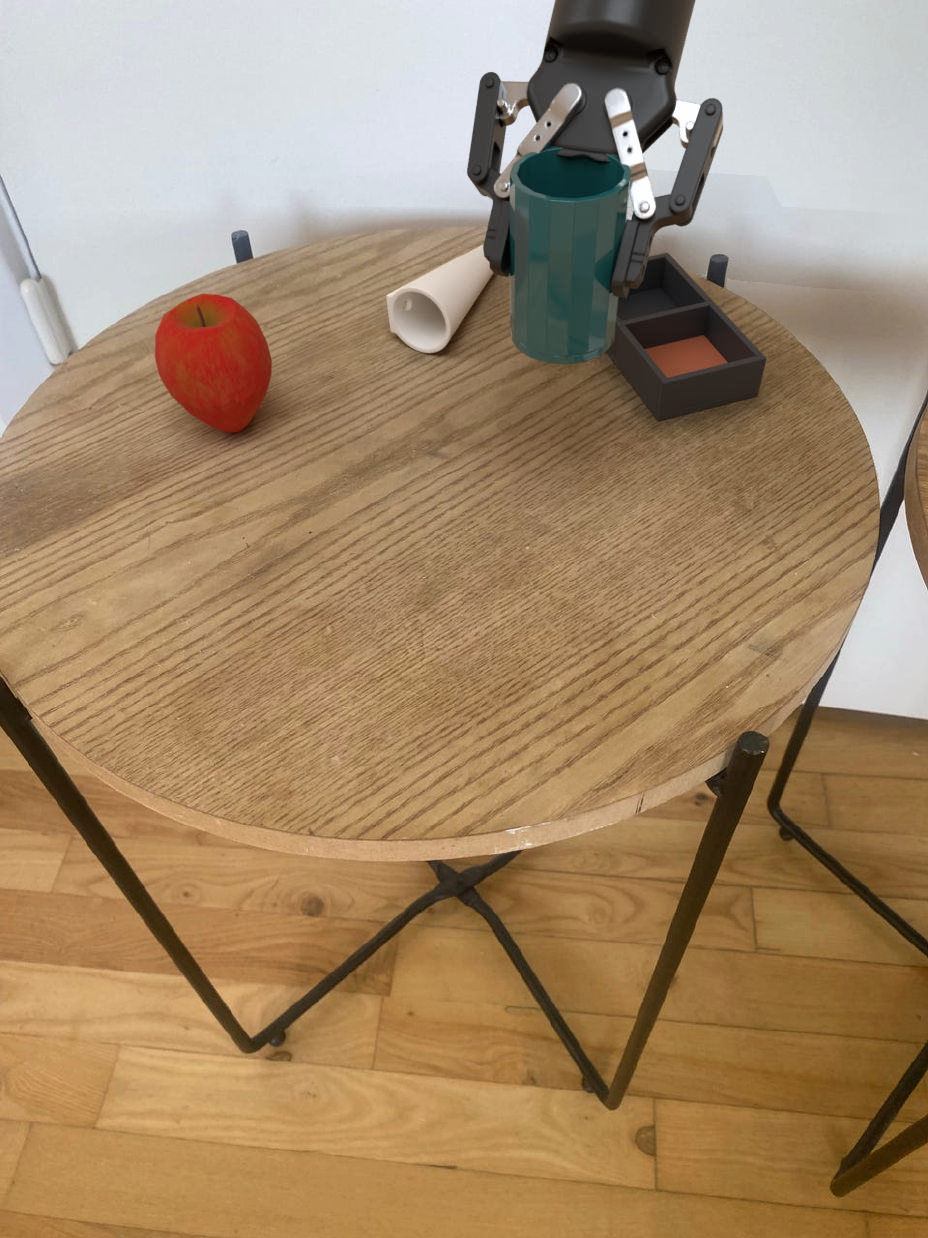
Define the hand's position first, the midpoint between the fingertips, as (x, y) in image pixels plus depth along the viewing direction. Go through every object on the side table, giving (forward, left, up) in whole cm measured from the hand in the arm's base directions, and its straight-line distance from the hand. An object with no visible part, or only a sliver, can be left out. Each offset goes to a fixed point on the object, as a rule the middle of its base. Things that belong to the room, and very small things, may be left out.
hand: (558, 282), depth 54 cm
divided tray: (-7, -21, -18) cm, 29 cm away
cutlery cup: (0, -2, -4) cm, 5 cm away
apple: (+26, -6, -19) cm, 33 cm away
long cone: (+10, -27, -19) cm, 35 cm away
